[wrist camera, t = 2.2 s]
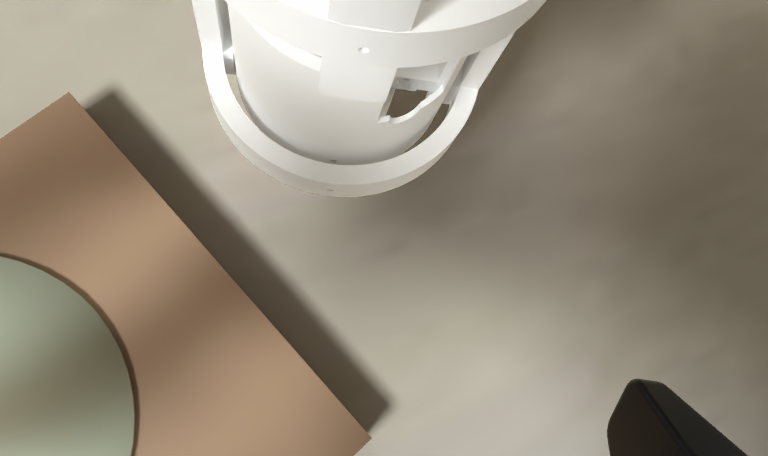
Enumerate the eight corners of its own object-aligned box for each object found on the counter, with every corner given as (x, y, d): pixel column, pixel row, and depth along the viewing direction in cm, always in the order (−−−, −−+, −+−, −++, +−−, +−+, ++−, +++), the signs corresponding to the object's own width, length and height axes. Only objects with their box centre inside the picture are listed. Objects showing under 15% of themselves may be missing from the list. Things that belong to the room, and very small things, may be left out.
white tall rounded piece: (208, 231, 23) (88, -65, 8) (238, 37, 25) (180, -483, 10) (421, 255, 24) (645, 23, 9) (434, 65, 25) (639, -376, 11)
